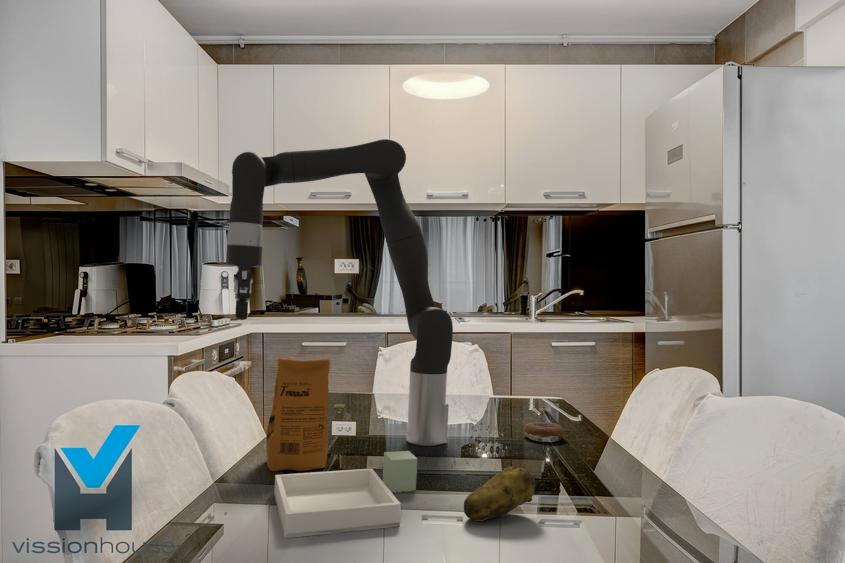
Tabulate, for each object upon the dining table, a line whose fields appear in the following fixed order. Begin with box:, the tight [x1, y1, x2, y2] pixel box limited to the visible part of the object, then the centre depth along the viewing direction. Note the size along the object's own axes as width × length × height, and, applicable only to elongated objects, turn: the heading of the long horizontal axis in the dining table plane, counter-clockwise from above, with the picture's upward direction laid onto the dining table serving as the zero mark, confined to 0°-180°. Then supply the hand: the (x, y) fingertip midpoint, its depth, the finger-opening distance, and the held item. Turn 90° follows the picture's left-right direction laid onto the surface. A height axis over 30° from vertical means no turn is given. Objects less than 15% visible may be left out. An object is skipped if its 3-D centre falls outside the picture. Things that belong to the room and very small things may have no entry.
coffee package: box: [265, 357, 331, 472], centre depth 115 cm, size 10×12×22 cm
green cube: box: [382, 450, 418, 494], centre depth 105 cm, size 5×5×6 cm
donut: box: [522, 422, 565, 438], centre depth 146 cm, size 11×11×4 cm
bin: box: [273, 468, 402, 539], centre depth 92 cm, size 18×18×4 cm
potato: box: [463, 465, 536, 522], centre depth 93 cm, size 8×13×8 cm, turn 100°
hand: (241, 317), depth 123 cm, fingers open, 8 cm apart
